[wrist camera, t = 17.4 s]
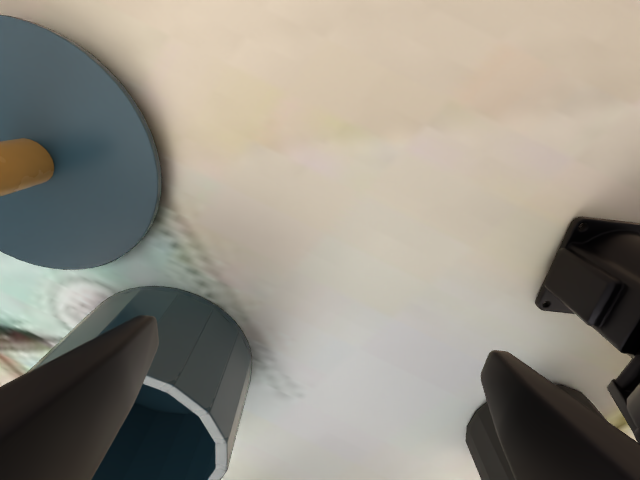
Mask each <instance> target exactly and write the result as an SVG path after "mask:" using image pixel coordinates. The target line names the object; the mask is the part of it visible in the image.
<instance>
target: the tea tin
mask: <svg viewBox="0 0 640 480" xmlns="http://www.w3.org/2000/svg"><path fill="white" fill-rule="evenodd" d="M138 315H147V316H154V317H155V318H156V320H157V327H158V336H159V345H158V349H157V352H156V354H155V356H154V359H153V361H152V363H151V366H150V368H149V370H148V373H147V375H146V377H145V380H144V382H143V384H142V386H141V389H140V391H139V393H138V396H137V398H136V400H135V402H134V404H133V406H132V408H131V410H130V412H129V414H128V416H127V417H126V419H125V421H124V423H123V425H122V426H121V428H120V430H119V432H118V433H117V435H116V437H115V439H114V441H113V442H112V444H111V446H110V448H109V449H108V451H107V453H106V455H105V457H104V458H103V460H102V462H101V464H100V465H99V467H98V469H97V471H96V473H95V474H94V476H93V478H92V480H221V478H222V477H223V476H224V474H225V473H226V471H227V469H228V466H229V462H230V458H231V454H232V450H233V446H234V442H235V439H236V435H237V431H238V427H239V423H240V419H241V415H242V411H243V407H244V403H245V400H246V396H247V392H248V388H249V384H250V375H251V369H252V355H251V350H250V347H249V344H248V341H247V339H246V337H245V335H244V334H243V332H242V330H241V329H240V327H239V326H238V325H237V323H236V322H235V321H234V320H233V319H232V318H231V317H230V316H229V315H228V314H227V313H225V312H224V311H223V310H222V309H221V308H219V307H218V306H216V305H215V304H213V303H211V302H210V301H208V300H206V299H204V298H202V297H200V296H198V295H195V294H192V293H190V292H187V291H183V290H179V289H175V288H169V287H159V286H147V287H138V288H132V289H128V290H125V291H122V292H119V293H117V294H115V295H113V296H111V297H109V298H108V299H106V300H105V301H104V302H102V303H101V304H100V305H99V306H98V307H97V308H96V309H95V310H93V311H92V312H91V313H90V314H89V315H87V316H86V317H85V318H84V319H83V320H82V321H81V322H80V323H79V324H78V325H77V326H76V327H75V328H74V329H73V330H71V331H70V332H69V333H68V334H67V335H66V336H65V337H64V338H63V339H62V340H61V341H60V342H59V343H58V344H57V345H56V346H55V347H53V348H52V349H51V350H50V351H49V352H48V353H47V354H46V355H45V356H44V357H43V358H42V359H41V360H40V361H39V362H38V363H37V364H35V365H34V366H33V367H32V368H31V369H30V370H29V371H28V372H30V371H32V370H34V369H36V368H38V367H40V366H41V365H43V364H45V363H47V362H49V361H51V360H53V359H55V358H57V357H59V356H61V355H63V354H65V353H66V352H68V351H70V350H72V349H74V348H76V347H78V346H80V345H82V344H84V343H86V342H88V341H89V340H91V339H93V338H95V337H97V336H99V335H101V334H103V333H105V332H107V331H109V330H111V329H113V328H114V327H116V326H118V325H120V324H122V323H124V322H126V321H128V320H130V319H132V318H134V317H136V316H138ZM28 372H27V373H28Z"/></svg>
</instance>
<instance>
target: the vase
mask: <svg viewBox="0 0 640 480" xmlns="http://www.w3.org/2000/svg"><path fill="white" fill-rule="evenodd" d="M556 386H558V387H559V388H560V389H562V390H563V391H565V392H566V393H568V394H569V395H570V396H572V397H573V398H575V399H576V400H578V401H579V402H580V403H582V404H583V405H585V406H586V407H588V408H589V409H590V410H592V411H593V412H595V413H596V414H598V415H599V416H600V417H602V418H603V419H605V418H604V417H603V415H602V414H601V413H600V412H599V411H598V410H597V408H596V407H595V406H594V405H593V404H592V403H591V402H590V401H589V400H588V399H587V398H586V397H585V396H584V395H583V394H582V393H581V392H579V391H576V390H574V389H571V388H568V387H566V386H563V385H556ZM605 420H606V419H605ZM606 421H607V420H606ZM466 443H467V445H468V448H469V450H470V453H471V455H472V458H473V460H474V463H475V465H476V468H477V470H478V472H479V475H480V477H481V480H515V478H514V475H513V473H512V470H511V468H510V466H509V463H508V461H507V458H506V456H505V453H504V451H503V448H502V446H501V443H500V441H499V438H498V435H497V432H496V429H495V426H494V422H493V419H492V416H491V412H490V409H489V406H488V402H487V403H486V404H484V405H483V406H482V407H481V408H479V409H478V410H477V411H476V413H475V414H474V416H473V418H472V419H471V421H470V422H469V424H468V426H467V433H466Z"/></svg>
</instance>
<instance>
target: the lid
mask: <svg viewBox="0 0 640 480" xmlns="http://www.w3.org/2000/svg"><path fill="white" fill-rule="evenodd" d="M161 184H162V180H161V167H160V162H159V157H158V152H157V148H156V145H155V142H154V139H153V136H152V133H151V131H150V129H149V127H148V125H147V123H146V120H145V118H144V116H143V115H142V113H141V111H140V110H139V108H138V106H137V105H136V103H135V101H134V100H133V98H132V97H131V96H130V94H129V93H128V92H127V90H126V89H125V88H124V86H123V85H122V84H121V83H120V82H119V81H118V79H117V78H116V77H115V76H114V75H113V74H112V73H111V72H110V71H109V70H108V69H107V68H106V67H105V66H104V65H103V64H102V63H101V62H99V61H98V60H97V59H96V58H95V57H94V56H93V55H91V54H90V53H89V52H87V51H86V50H85V49H83V48H82V47H80V46H79V45H77V44H76V43H75V42H73V41H71V40H70V39H68V38H66V37H64V36H62V35H61V34H59V33H57V32H55V31H53V30H51V29H48V28H46V27H43V26H41V25H39V24H36V23H33V22H29V21H26V20H22V19H19V18H15V17H11V16H4V15H0V251H1V252H3V253H5V254H7V255H9V256H12V257H14V258H16V259H19V260H21V261H25V262H28V263H31V264H34V265H38V266H43V267H47V268H54V269H63V270H79V269H86V268H93V267H97V266H101V265H104V264H107V263H109V262H112V261H114V260H116V259H118V258H120V257H121V256H123V255H124V254H126V253H127V252H129V251H130V250H131V249H132V248H133V247H134V246H136V245H137V244H138V243H139V242H140V241H141V240H142V238H143V237H144V236H145V235H146V234H147V232H148V230H149V229H150V227H151V225H152V223H153V222H154V219H155V216H156V214H157V211H158V207H159V202H160V198H161Z"/></svg>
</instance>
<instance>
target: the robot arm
mask: <svg viewBox="0 0 640 480" xmlns="http://www.w3.org/2000/svg"><path fill="white" fill-rule="evenodd" d="M582 223H583V225H582V226H581V227H580V228H579V226H580V224H582ZM545 301H546V303H544V302H545ZM543 303H544V304H543ZM535 304H536V305H537V306H538V307H539V308H540V309H541V310H544V311H553V312H562V313H572V314H576V315H577V316H578V317H579V318H581V319H582V320H583V321H584V322H585V323H586V324H587V325H589V326H592V327H593V328H594V329H595V330H596V331H597V332H599V333H600V334H601V335H602V336H603V337H604V338H605V339H607V340H608V341H609V342H610V343H611V344H612V345H613V346H614V347H616V348H617V349H618V350H619V351H620V352H621V353H625V354H628V355H629V356H630V357H631V358H632V360H631V361H630V362H629V364H628V365H627V366H626V367H625V369H624V370H623V371H622V372H621V374H620V375H619V376H618V377H617V379H616V380H615V379H613V380H612V381H611V382H610V384H609V385H608V386H607V389H608V391H609V392H610V394H611V396H612V398H613V399H614V401H615V403H616V404H617V406H618V408H619V409H620V411H621V413H622V415H623V416H624V418H625V420H626V421H627V423H628V425H629V426H630V428H631V430H632V431H633V433H634V435H635V438H636V440H637V442H636V441H635V440H633V439H632V438H630V437H629V436H628V435H626V434H625V433H623V432H622V431H620V430H619V429H618V428H616V427H615V426H613V425H612V424H610V423H609V422H608V421H606V420H605V419H603V418H602V417H600V416H599V415H598V414H596V413H595V412H593V411H592V410H590V409H589V408H588V407H586V406H585V405H583V404H582V403H580V402H579V401H578V400H576V399H575V398H573V397H572V396H570V395H569V394H568V393H566V392H565V391H563V390H562V389H560V388H559V387H558V386H556V385H555V384H553V383H552V382H550V381H549V380H548V379H546V378H545V377H543V376H542V375H540V374H539V373H538V372H536V371H535V370H533V369H532V368H530V367H529V366H528V365H526V364H525V363H523V362H522V361H520V360H519V359H518V358H516V357H515V356H513V355H512V354H510V353H509V352H506V351H497V350H493V351H491V352H490V353H489V355H488V357H487V360H486V362H485V364H484V367H483V369H482V372H481V382H482V386H483V389H484V392H485V396H486V399H487V402H488V406H489V409H490V412H491V416H492V419H493V422H494V426H495V429H496V432H497V435H498V438H499V441H500V443H501V446H502V448H503V451H504V453H505V456H506V458H507V461H508V463H509V466H510V468H511V470H512V473H513V475H514V478H515V480H640V223H632V222H623V221H615V220H606V219H598V218H589V217H577V218H575V219H574V220H573V221H572V222H571V223H570V226H569V228H568V230H567V232H566V234H565V237H564V239H563V241H562V243H561V245H560V248H559V250H558V252H557V254H556V256H555V259H554V261H553V263H552V265H551V267H550V270H549V272H548V274H547V276H546V278H545V281H544V283H543V285H542V287H541V289H540V292H539V294H538V296H537V298H536V301H535ZM158 345H159V336H158V327H157V320H156V318H155V317H154V316H147V315H138V316H136V317H134V318H132V319H130V320H128V321H126V322H124V323H122V324H120V325H118V326H116V327H114V328H113V329H111V330H109V331H107V332H105V333H103V334H101V335H99V336H97V337H95V338H93V339H91V340H89V341H88V342H86V343H84V344H82V345H80V346H78V347H76V348H74V349H72V350H70V351H68V352H66V353H65V354H63V355H61V356H59V357H57V358H55V359H53V360H51V361H49V362H47V363H45V364H43V365H41V366H40V367H38V368H36V369H34V370H32V371H30V372H28V373H26V374H24V375H22V376H20V377H18V378H16V379H15V380H13V381H11V382H9V383H7V384H5V385H3V386H1V387H0V480H92V478H93V476H94V474H95V473H96V471H97V469H98V467H99V465H100V464H101V462H102V460H103V458H104V457H105V455H106V453H107V451H108V449H109V448H110V446H111V444H112V442H113V441H114V439H115V437H116V435H117V433H118V432H119V430H120V428H121V426H122V425H123V423H124V421H125V419H126V417H127V416H128V414H129V412H130V410H131V408H132V406H133V404H134V402H135V400H136V398H137V396H138V393H139V391H140V389H141V386H142V384H143V382H144V380H145V377H146V375H147V373H148V370H149V368H150V366H151V363H152V361H153V359H154V356H155V354H156V352H157V349H158Z"/></svg>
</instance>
